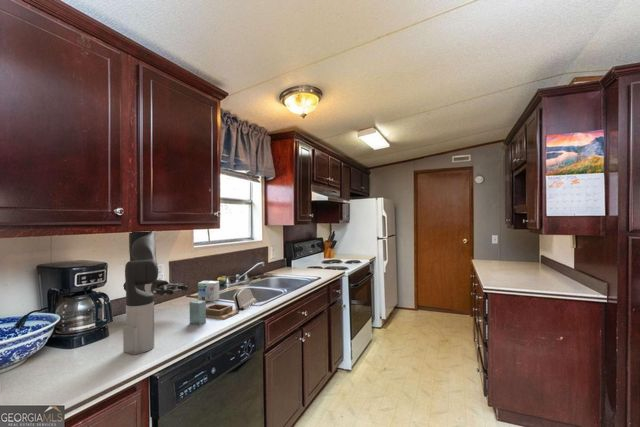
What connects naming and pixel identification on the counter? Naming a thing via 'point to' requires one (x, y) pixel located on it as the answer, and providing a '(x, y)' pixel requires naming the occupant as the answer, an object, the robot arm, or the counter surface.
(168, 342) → the counter surface
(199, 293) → the light bulb box
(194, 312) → the grey-green block
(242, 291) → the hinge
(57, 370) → the counter surface
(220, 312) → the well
